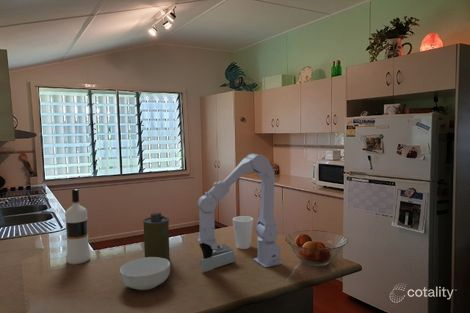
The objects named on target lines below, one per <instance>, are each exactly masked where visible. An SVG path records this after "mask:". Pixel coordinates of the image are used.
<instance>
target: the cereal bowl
mask: <svg viewBox="0 0 470 313" xmlns="http://www.w3.org/2000/svg"><path fill="white" fill-rule="evenodd" d="M170 272H171V262H170V261H168V260H167V259H164V258H160V257H145V256H144V257H140V258H136V259H132V260H129V261H128V262H126V263H124V264H122V266H121V267H120V268H119V276H120V280H121V282H122V283H123V284H124V285H125V286H126V287H128V288H130V289H135V290H138V291H149V290H151V289H154V288H156V287H157V286H159V285H161V284H163V283H164V282H165V281H166V280H167V279H168V278H169V275H170Z"/></svg>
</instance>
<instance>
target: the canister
mask: <svg viewBox="0 0 470 313" xmlns="http://www.w3.org/2000/svg"><path fill="white" fill-rule="evenodd" d="M169 220H170V217H167V216H165V215H162V213H161V212H157V211H156V212H152V213H150V217H146V218H144V219H143V220H142V223H143V244H144V246H143V247H144V249H143V250H144V258H145V257H160V258H164V259H167V260H168V261H169V262H170V261H171V258H170V233H169V231H170V230H169V229H170V227H169V226H170V225H169Z"/></svg>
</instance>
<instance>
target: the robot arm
mask: <svg viewBox="0 0 470 313" xmlns="http://www.w3.org/2000/svg"><path fill="white" fill-rule="evenodd" d="M254 172H255V173H256V174H257V175H258V176H259V177H260V178H261V179H260V204H259V205H260V206H259V207H260V208H259V216H258V218H257V223H256V225H255V230H254V231H255V233H256V234H257V242H256V243H257V257H255V258H253V261H255V262H256V263H257V264H260V265H261V266H263V268H269V267H273V266H274V267H275V266H278V265H282V264H283V262H282V261H281V247H280V246H279V245H278V244H277V241H276V240H277V238H278V236H279V235H278V234H279V232H278V229H277V223H276V222H277V221H275V217H274V208H275V207H274V204H275V203H274V202H275V201H274V200H275V178H276V177H275V171H274V169H273V166H272V165H271V163H270V159H269V158H267V157H266V156H265V155H264V154H256V153H254V152H253V153H249V154H248V155H246V156H245V157H244V158H243V159H242V160H241V161H240V162H239V163H238V165H236V166H235V168H233V170H232V171H231V172H230V173H229V174H228V175H227V177H225V178H224V179H223V180H219V181H214V183H213V186H212V187H211V188H210V189H209V190H208V191H205V193H204V195H202V196H200V197H199V198H198V201H197V203H196V204H197V207H199V223H198V224H199V233H198V234H197V235H198V236H197V237H198V238H197V239H196V242H197V243H198V245H199V248H200V249H201V252H202V257H203V256H204V259H206V258H209V257H212V253H213V250H214V249H217V245H218V243H217V241H216V239H217V238H216V235H215V234H216V232H215V231H216V230H215V228H216V225H215V210H216V208H217V204H218V203H220V201H221V200H223V198H225V196H227V195H228V193H229V192H230V187H231V186H233V184H234V183H236V182H237V181H238V180H239V179H240V178H241V177H243V175H245V174H248V173H254Z"/></svg>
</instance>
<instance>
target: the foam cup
mask: <svg viewBox="0 0 470 313" xmlns="http://www.w3.org/2000/svg"><path fill="white" fill-rule="evenodd" d="M232 225H233V226H232V227H233V233H234V240H235V246H236V249H239V250H248V249H250V248H251V243H252V242H251V241H252V234H253V226H254V217H251V216H248V215H246V216H245V215H242V216H241V215H240V216H235V217H232Z"/></svg>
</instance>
